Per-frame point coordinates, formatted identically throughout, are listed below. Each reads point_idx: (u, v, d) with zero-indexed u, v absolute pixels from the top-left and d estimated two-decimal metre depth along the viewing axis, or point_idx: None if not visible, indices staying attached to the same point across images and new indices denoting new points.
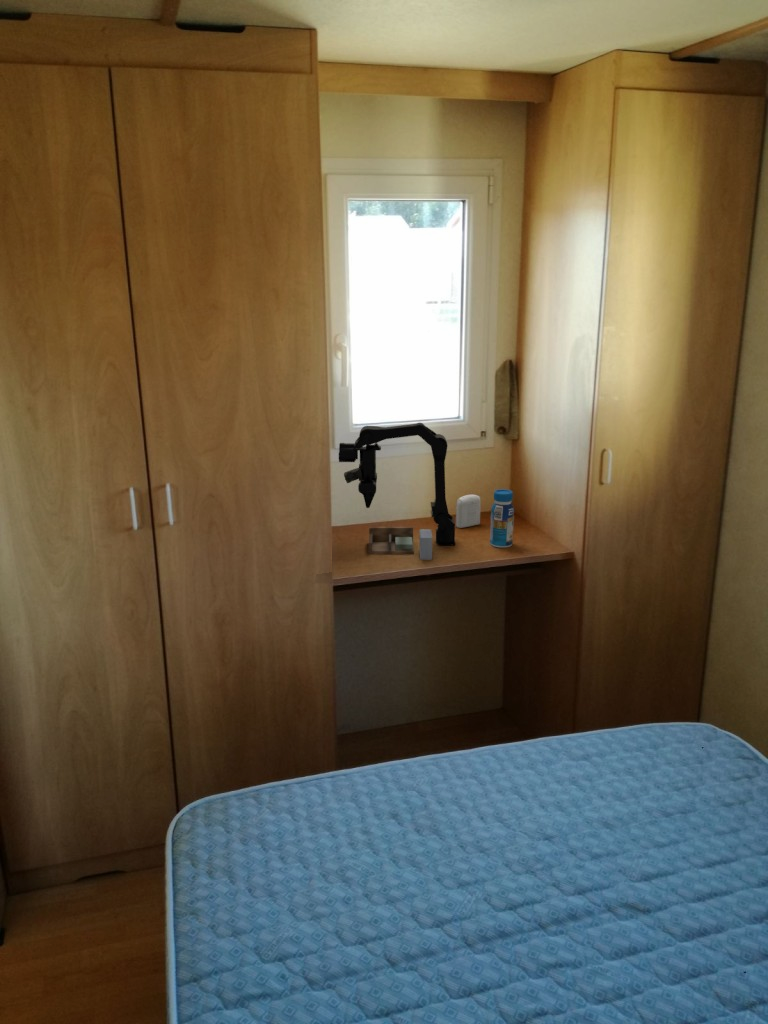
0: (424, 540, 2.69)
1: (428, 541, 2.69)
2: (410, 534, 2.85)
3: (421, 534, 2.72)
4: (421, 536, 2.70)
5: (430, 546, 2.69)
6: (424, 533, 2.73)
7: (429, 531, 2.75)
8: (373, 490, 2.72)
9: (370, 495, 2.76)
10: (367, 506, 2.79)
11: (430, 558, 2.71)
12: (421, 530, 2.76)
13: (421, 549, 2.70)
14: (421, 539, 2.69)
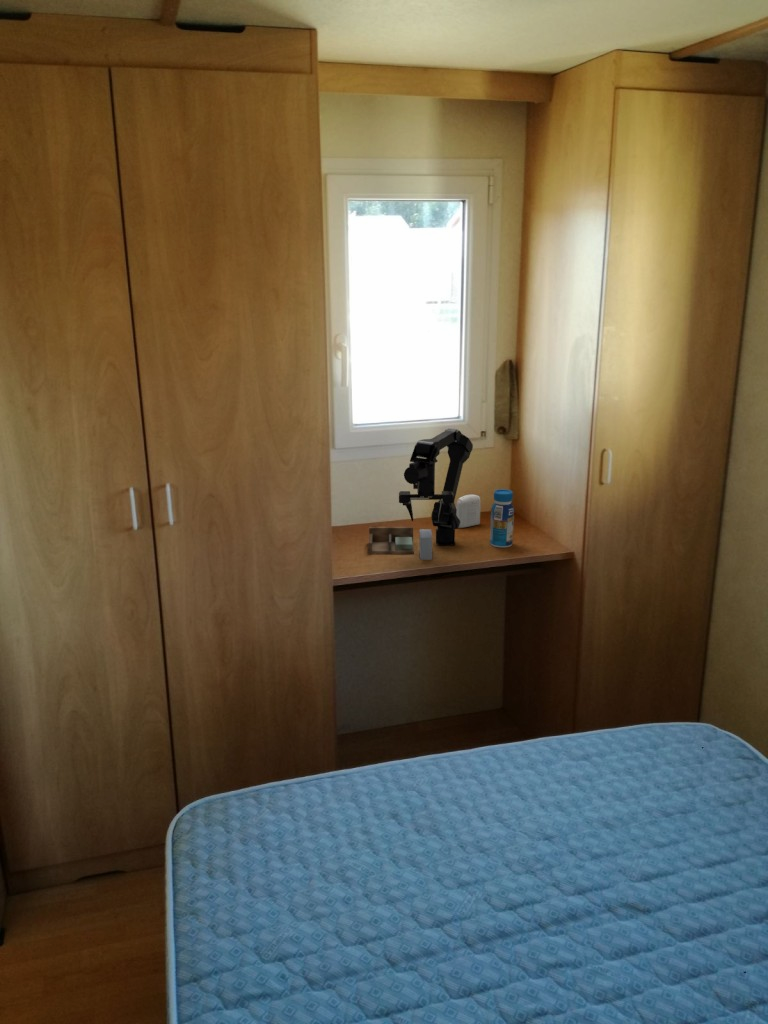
0: (424, 540, 2.69)
1: (428, 540, 2.69)
2: (410, 534, 2.85)
3: (421, 534, 2.72)
4: (421, 536, 2.70)
5: (430, 546, 2.70)
6: (424, 533, 2.73)
7: (429, 531, 2.75)
8: (399, 501, 2.67)
9: None
10: (412, 519, 2.72)
11: (430, 558, 2.71)
12: (421, 530, 2.76)
13: (421, 549, 2.70)
14: (421, 539, 2.69)
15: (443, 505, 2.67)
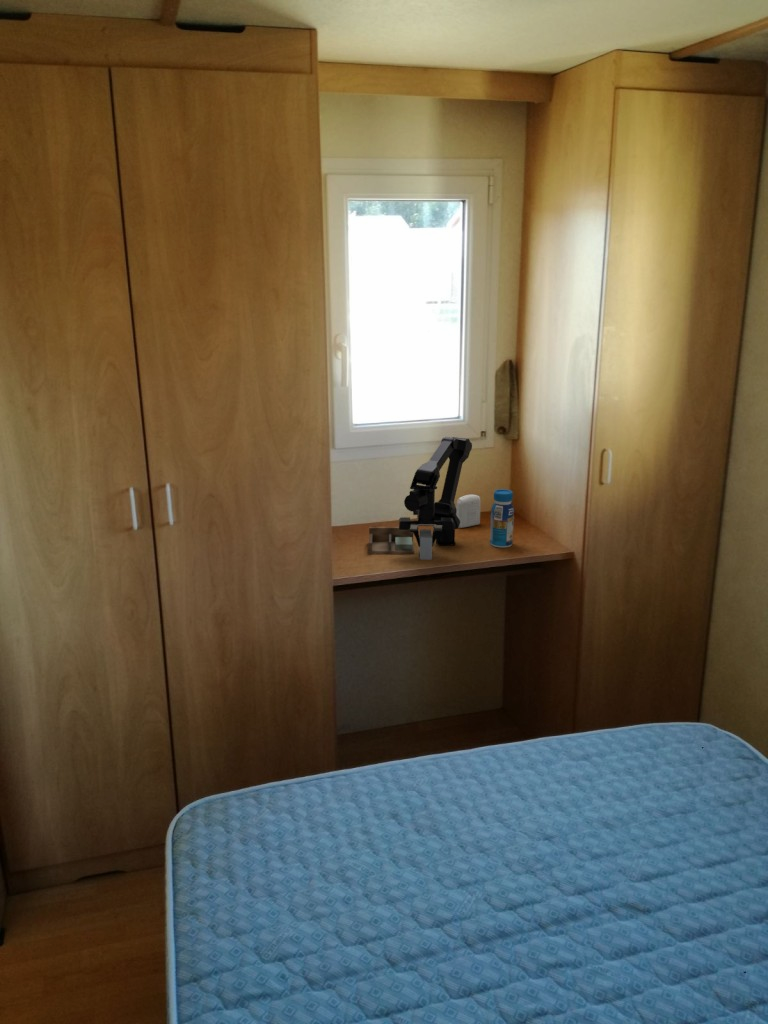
0: (424, 540, 2.69)
1: (428, 540, 2.69)
2: (410, 534, 2.85)
3: (421, 533, 2.72)
4: (421, 536, 2.70)
5: (430, 546, 2.69)
6: (424, 532, 2.73)
7: (429, 531, 2.75)
8: (399, 527, 2.70)
9: None
10: (418, 545, 2.74)
11: (430, 558, 2.71)
12: (421, 530, 2.76)
13: (421, 549, 2.70)
14: (421, 539, 2.69)
15: (436, 531, 2.70)
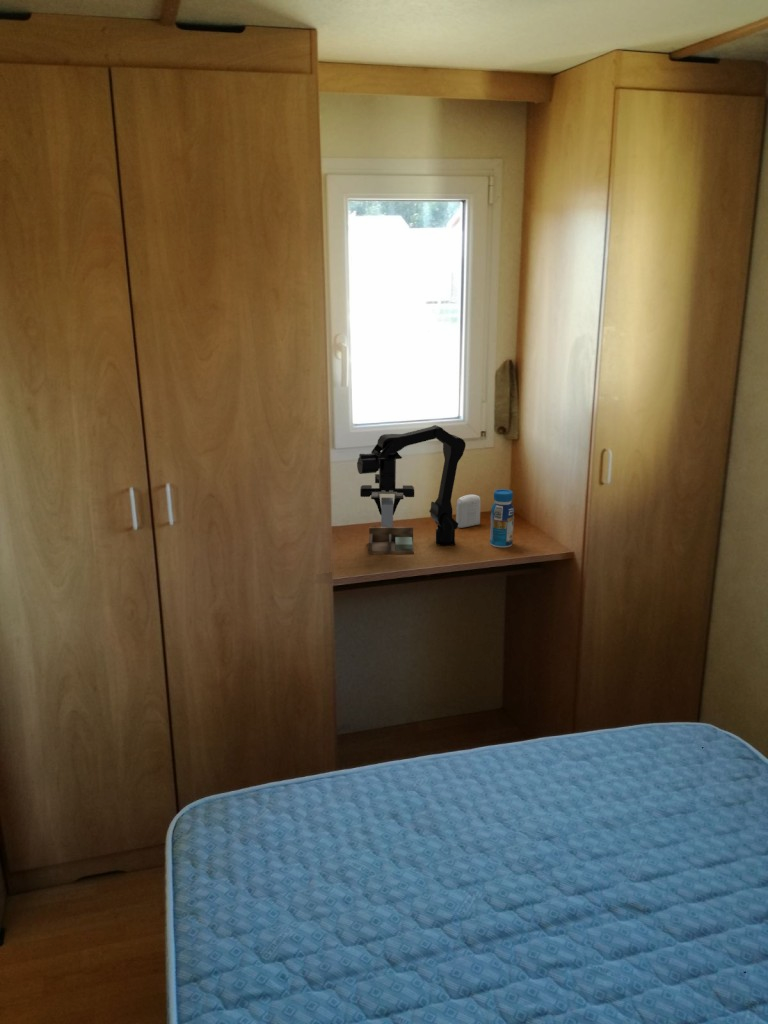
0: (385, 507, 2.70)
1: (389, 508, 2.71)
2: (410, 534, 2.85)
3: (383, 501, 2.74)
4: (382, 503, 2.72)
5: (391, 513, 2.71)
6: (386, 500, 2.75)
7: (391, 499, 2.77)
8: (360, 495, 2.72)
9: None
10: (380, 513, 2.76)
11: (391, 525, 2.72)
12: (383, 498, 2.78)
13: (382, 516, 2.71)
14: (382, 506, 2.70)
15: (397, 499, 2.71)
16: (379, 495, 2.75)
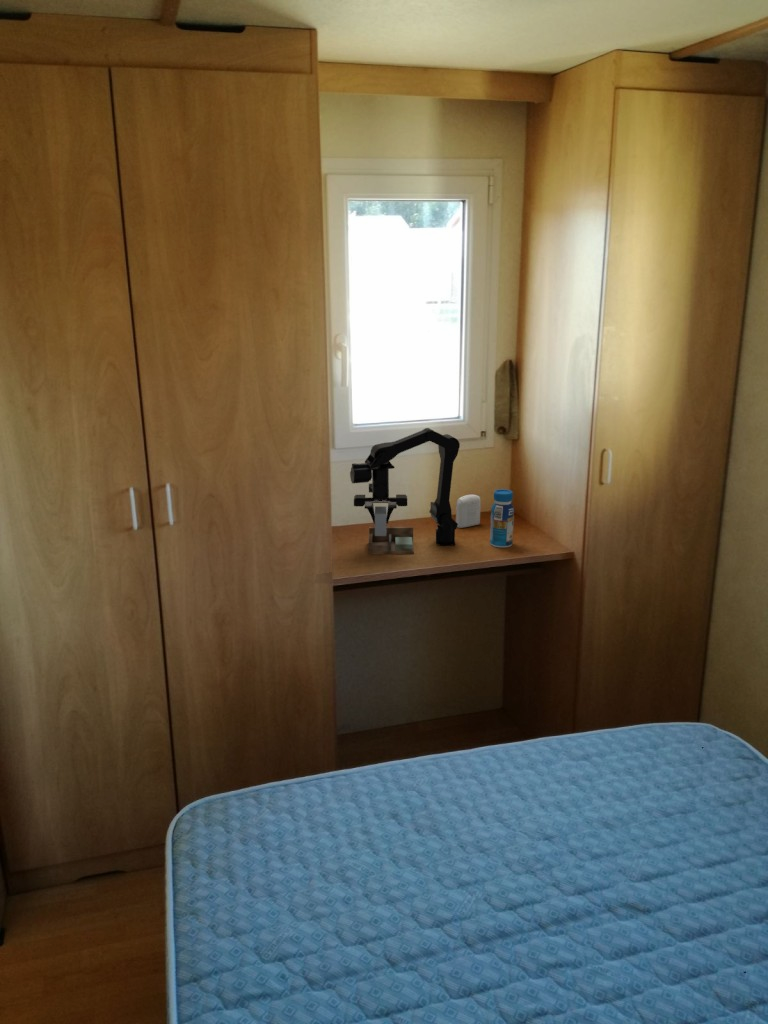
0: (378, 516, 2.73)
1: (382, 517, 2.73)
2: (410, 534, 2.85)
3: (376, 510, 2.76)
4: (375, 512, 2.74)
5: (384, 522, 2.73)
6: (379, 509, 2.77)
7: (384, 508, 2.79)
8: None
9: None
10: (374, 522, 2.78)
11: (385, 534, 2.75)
12: (376, 507, 2.80)
13: (375, 525, 2.74)
14: (375, 515, 2.73)
15: (390, 508, 2.74)
16: None
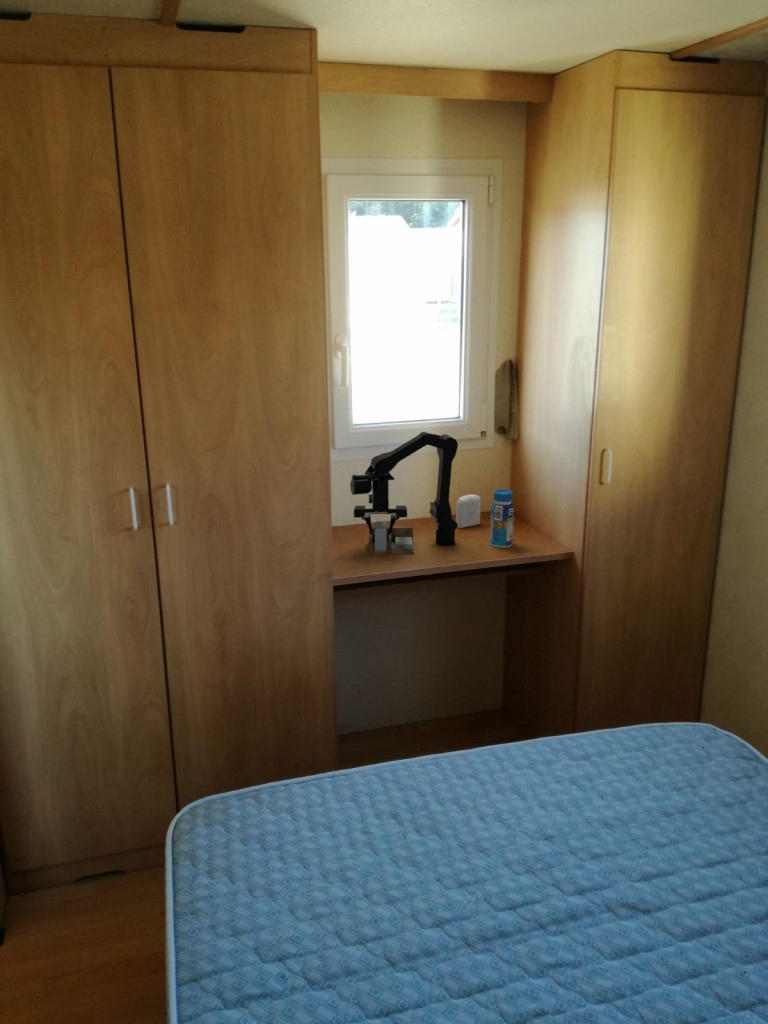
0: (378, 531, 2.74)
1: (382, 532, 2.74)
2: (410, 534, 2.85)
3: (376, 525, 2.78)
4: (376, 527, 2.75)
5: (384, 537, 2.75)
6: (379, 524, 2.79)
7: (384, 523, 2.80)
8: None
9: None
10: None
11: (384, 549, 2.76)
12: (377, 522, 2.82)
13: (375, 540, 2.75)
14: (375, 530, 2.74)
15: (392, 519, 2.75)
16: (370, 515, 2.79)
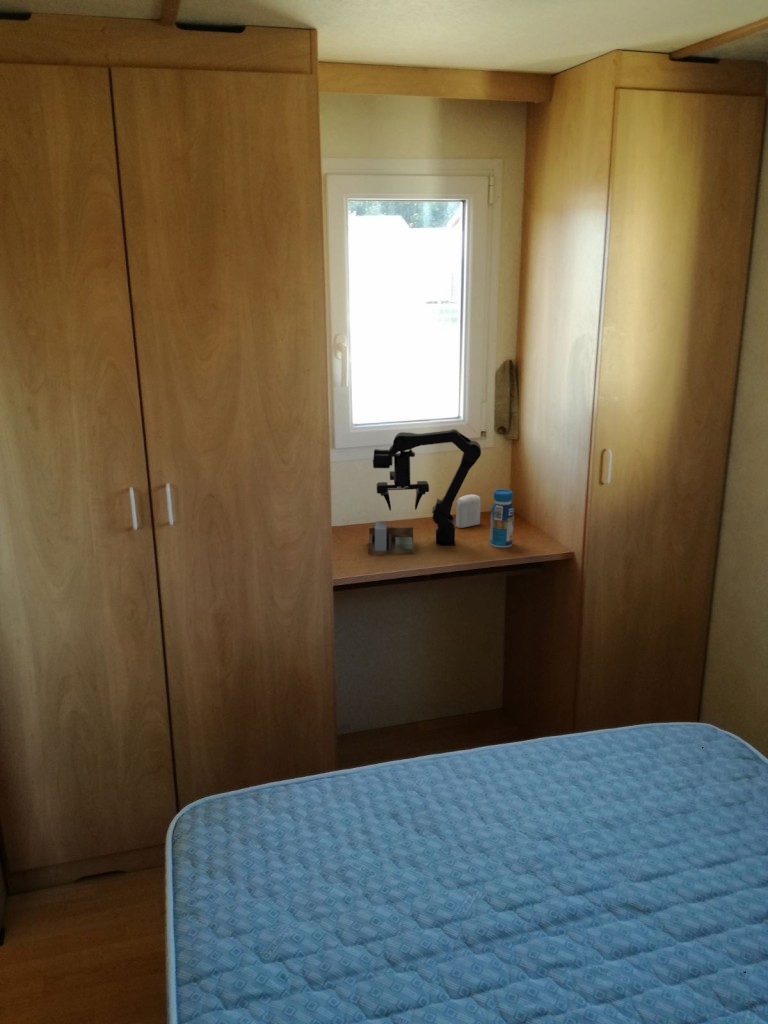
0: (378, 531, 2.74)
1: (382, 532, 2.74)
2: (410, 534, 2.85)
3: (376, 525, 2.78)
4: (376, 527, 2.75)
5: (384, 537, 2.75)
6: (379, 524, 2.79)
7: (384, 523, 2.80)
8: (377, 491, 2.81)
9: None
10: None
11: (384, 549, 2.76)
12: (377, 522, 2.82)
13: (375, 540, 2.75)
14: (375, 530, 2.74)
15: (419, 494, 2.81)
16: None
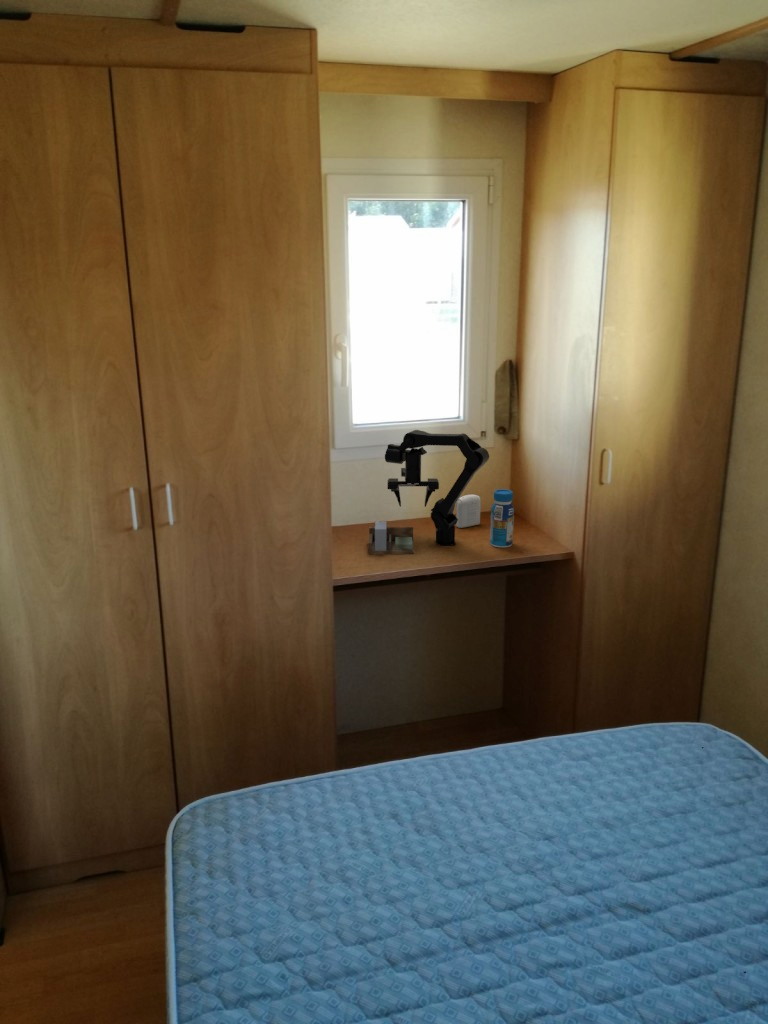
0: (378, 531, 2.74)
1: (382, 532, 2.74)
2: (410, 534, 2.85)
3: (376, 525, 2.78)
4: (376, 527, 2.75)
5: (384, 537, 2.75)
6: (379, 524, 2.79)
7: (384, 523, 2.80)
8: None
9: None
10: None
11: (384, 549, 2.76)
12: (377, 522, 2.82)
13: (375, 540, 2.75)
14: (375, 530, 2.74)
15: (429, 491, 2.85)
16: (398, 488, 2.89)
